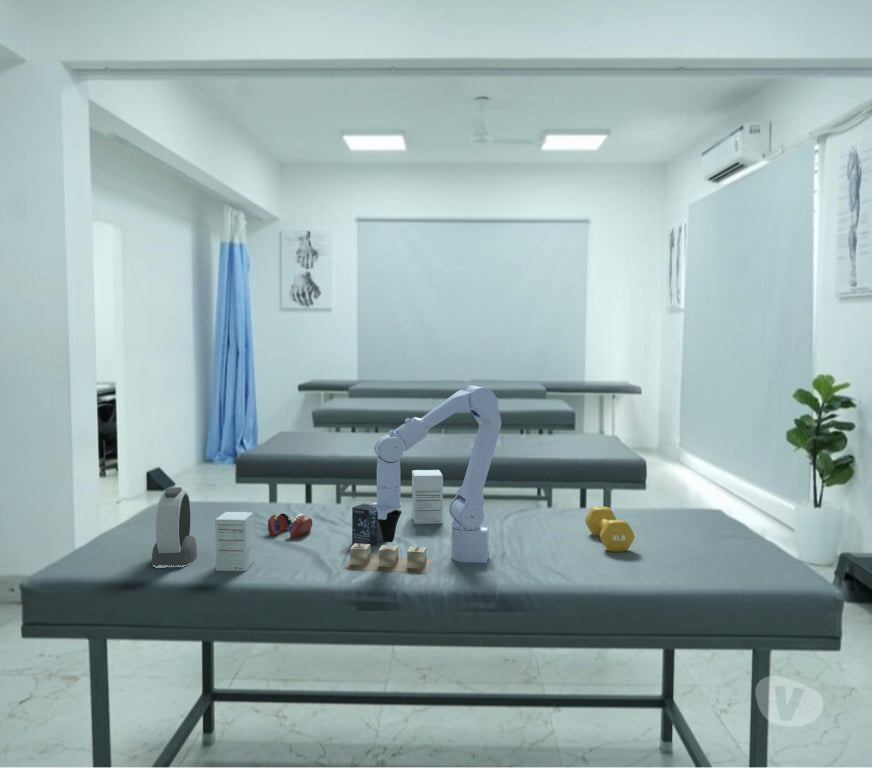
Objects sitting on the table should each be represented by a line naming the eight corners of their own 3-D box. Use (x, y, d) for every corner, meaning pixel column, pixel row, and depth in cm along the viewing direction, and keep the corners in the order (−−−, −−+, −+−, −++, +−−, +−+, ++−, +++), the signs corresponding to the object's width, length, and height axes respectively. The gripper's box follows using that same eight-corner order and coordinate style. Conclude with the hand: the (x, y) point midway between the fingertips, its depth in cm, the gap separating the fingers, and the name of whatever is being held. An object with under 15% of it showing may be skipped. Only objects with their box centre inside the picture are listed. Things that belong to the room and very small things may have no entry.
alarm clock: (189, 569, 162) (188, 494, 161) (144, 571, 160) (143, 495, 159) (201, 549, 178) (200, 480, 177) (161, 551, 176) (159, 481, 175)
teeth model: (279, 507, 198) (315, 511, 194) (280, 528, 199) (316, 532, 195) (263, 515, 191) (300, 519, 186) (263, 536, 191) (300, 541, 187)
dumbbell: (583, 533, 196) (584, 505, 195) (614, 533, 196) (615, 505, 196) (601, 553, 177) (602, 522, 176) (635, 553, 177) (636, 522, 177)
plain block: (398, 561, 166) (398, 545, 165) (394, 567, 162) (394, 550, 162) (382, 560, 166) (382, 544, 166) (378, 566, 162) (378, 549, 162)
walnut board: (432, 563, 168) (432, 559, 167) (425, 577, 158) (425, 573, 158) (354, 559, 170) (354, 555, 170) (342, 572, 161) (342, 568, 161)
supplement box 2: (411, 517, 212) (411, 469, 211) (439, 516, 213) (439, 469, 212) (413, 524, 203) (413, 475, 202) (443, 524, 204) (443, 475, 203)
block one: (426, 563, 165) (426, 546, 164) (423, 568, 161) (423, 551, 160) (410, 562, 165) (410, 545, 165) (407, 567, 161) (407, 550, 161)
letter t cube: (370, 560, 167) (370, 543, 166) (366, 565, 163) (366, 548, 163) (354, 559, 167) (354, 543, 167) (350, 564, 163) (350, 547, 163)
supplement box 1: (225, 561, 168) (225, 511, 168) (255, 561, 168) (254, 511, 167) (215, 571, 161) (214, 519, 160) (245, 571, 161) (245, 519, 160)
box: (351, 546, 182) (351, 507, 181) (363, 540, 187) (363, 502, 186) (375, 550, 178) (375, 511, 177) (387, 545, 183) (387, 506, 182)
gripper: (379, 479, 171) (379, 532, 171) (364, 491, 156) (364, 549, 157) (406, 480, 170) (406, 533, 170) (394, 492, 155) (394, 551, 156)
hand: (388, 541), depth 164 cm, fingers closed
